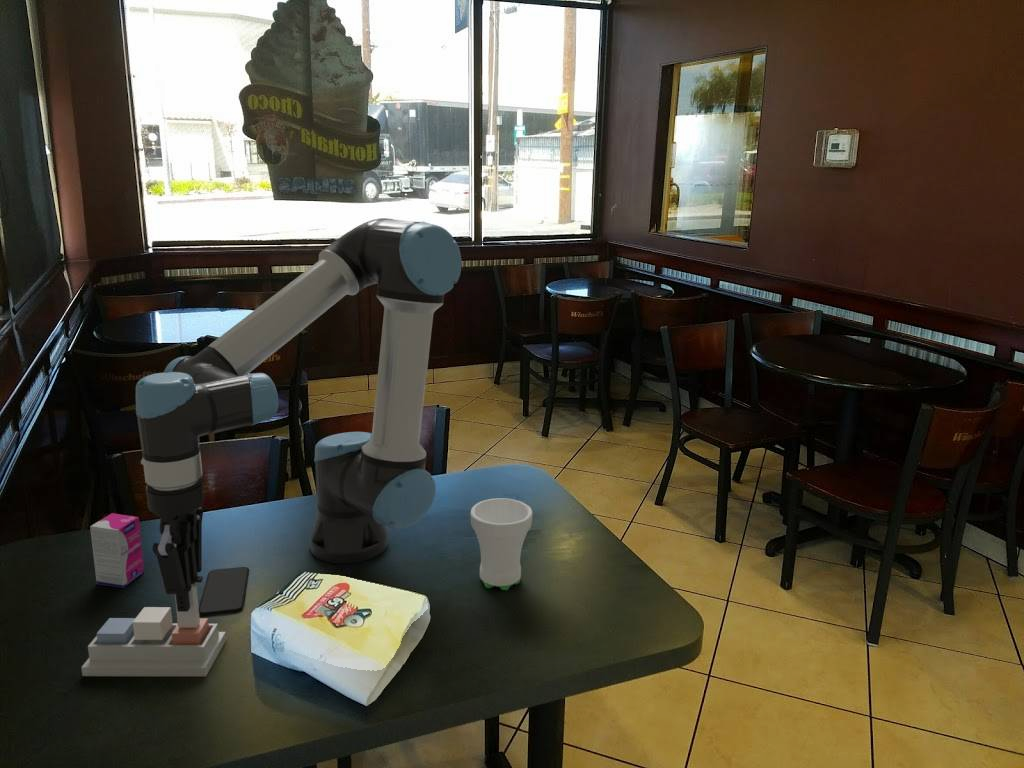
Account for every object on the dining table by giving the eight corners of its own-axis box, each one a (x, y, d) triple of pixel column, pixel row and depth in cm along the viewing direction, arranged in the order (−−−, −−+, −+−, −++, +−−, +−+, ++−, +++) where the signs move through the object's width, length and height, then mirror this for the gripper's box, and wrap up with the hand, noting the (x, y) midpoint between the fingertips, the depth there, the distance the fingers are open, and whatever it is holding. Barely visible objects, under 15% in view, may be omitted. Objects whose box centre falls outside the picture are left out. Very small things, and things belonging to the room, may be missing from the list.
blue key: (138, 635, 118) (135, 618, 117) (126, 651, 114) (123, 633, 113) (111, 634, 118) (109, 618, 117) (99, 650, 114) (96, 633, 113)
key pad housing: (226, 639, 121) (224, 618, 120) (205, 676, 113) (203, 653, 112) (111, 639, 121) (108, 617, 120) (82, 676, 112) (78, 652, 111)
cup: (457, 580, 140) (457, 510, 136) (499, 559, 148) (500, 492, 144) (501, 604, 133) (502, 531, 129) (542, 581, 141) (545, 511, 137)
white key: (172, 624, 117) (170, 607, 117) (162, 639, 114) (159, 622, 113) (146, 624, 117) (144, 607, 116) (134, 639, 114) (132, 622, 113)
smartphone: (250, 565, 143) (242, 608, 129) (250, 570, 143) (243, 613, 129) (208, 569, 141) (196, 613, 127) (208, 574, 141) (196, 618, 127)
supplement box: (124, 588, 135) (117, 530, 132) (95, 584, 136) (87, 526, 133) (146, 572, 140) (139, 515, 137) (118, 568, 142) (110, 512, 138)
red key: (209, 635, 118) (208, 618, 117) (200, 650, 114) (198, 633, 114) (183, 635, 118) (181, 618, 117) (173, 650, 114) (171, 633, 113)
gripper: (166, 463, 115) (180, 600, 121) (126, 499, 102) (145, 651, 109) (216, 464, 115) (228, 601, 122) (183, 500, 103) (198, 651, 109)
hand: (189, 624), depth 115 cm, fingers closed
